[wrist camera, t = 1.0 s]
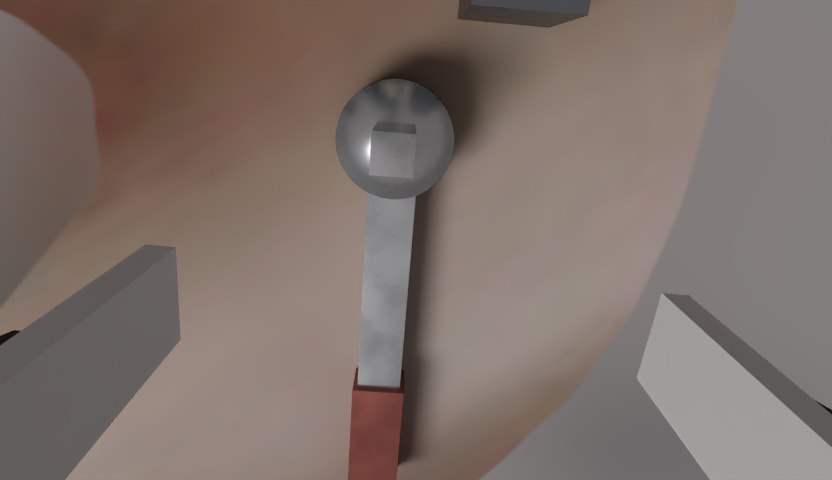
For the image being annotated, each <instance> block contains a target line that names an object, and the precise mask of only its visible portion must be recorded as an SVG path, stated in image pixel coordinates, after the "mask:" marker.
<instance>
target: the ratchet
mask: <svg viewBox="0 0 832 480" xmlns="http://www.w3.org/2000/svg"><path fill="white" fill-rule="evenodd" d="M336 148H337V154H338V157H339V160H340V162H341V165H342V167H343V169H344V170H345V172H346V173H347V175H348V176H349V177H350V179H351V180H352V181H353V182H354V183H355V184H356V185H358V186H359V187H360V188H362V189H363V190H365V191H366V192H368V194H367V213H366V232H365V251H364V270H363V289H362V308H361V327H360V346H359V365H358V368H356V373H355V379H354V385H353V390H352V410H351V430H350V450H349V471H348V480H396V476H397V465H398V453H399V442H400V430H401V419H402V407H403V396H404V371H401V367H402V355H403V343H404V331H405V319H406V307H407V295H408V283H409V271H410V259H411V247H412V235H413V224H414V212H415V200H416V195H419V194H421V193H423V192H425V191H427V190H428V189H430V188H431V187H432V186H434V185H435V184H436V183H437V182H438V181H439V180H440V178H441V177H442V176H443V175H444V173H445V171H446V170H447V168H448V166H449V164H450V162H451V158H452V155H453V150H454V129H453V125H452V121H451V119H450V116H449V114H448V112H447V110H446V108H445V107H444V105H443V104H442V102H441V101H440V100H439V99H438V98H437V97H436V96H435V95H434V94H433V93H432V92H431V91H429V90H428V89H427V88H425V87H424V86H422V85H420V84H418V83H416V82H413V81H410V80H405V79H386V80H382V81H378V82H375V83H373V84H370V85H368V86H366V87H365V88H363V89H361V90H360V91H359V92H358V93H356V94H355V95H354V96H353V97H352V98H351V99H350V100H349V102H348V103H347V104H346V106H345V107H344V109H343V111H342V113H341V115H340V118H339V120H338V124H337V128H336Z"/></svg>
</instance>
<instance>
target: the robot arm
mask: <svg viewBox="0 0 832 480" xmlns="http://www.w3.org/2000/svg"><path fill="white" fill-rule="evenodd" d="M179 340H180V322H179V303H178V284H177V265H176V247H167V246H156V245H144V246H143V247H141V248H140V249H139V250H137V251H136V252H134V253H133V254H131V255H130V256H129V257H127V258H126V259H124V260H123V261H121V262H120V263H118V264H117V265H116V266H114V267H113V268H111V269H110V270H108V271H107V272H105V273H104V274H103V275H101V276H100V277H98V278H97V279H95V280H94V281H92V282H91V283H90V284H88V285H87V286H85V287H84V288H82V289H81V290H79V291H78V292H77V293H75V294H74V295H72V296H71V297H69V298H68V299H66V300H65V301H64V302H62V303H61V304H59V305H58V306H56V307H55V308H54V309H52V310H51V311H49V312H48V313H46V314H45V315H43V316H42V317H41V318H39V319H38V320H36V321H35V322H33V323H32V324H30V325H29V326H28V327H26V328H25V329H23V330H22V331H16V330H13V331H11V332H9V333H6V334H4V335H1V336H0V480H65V479H66V478H67V477H68V475H69V474H70V473H71V472H72V470H73V469H74V468H75V467H76V466H77V464H78V463H79V462H80V461H81V460H82V458H83V457H84V456H85V455H86V453H87V452H88V451H89V450H90V449H91V447H92V446H93V445H94V444H95V443H96V441H97V440H98V439H99V438H100V436H101V435H102V434H103V433H104V432H105V430H106V429H107V428H108V427H109V426H110V424H111V423H112V422H113V421H114V419H115V418H116V417H117V416H118V415H119V413H120V412H121V411H122V410H123V409H124V407H125V406H126V405H127V404H128V402H129V401H130V400H131V399H132V398H133V396H134V395H135V394H136V393H137V391H138V390H139V389H140V388H141V387H142V385H143V384H144V383H145V382H146V381H147V379H148V378H149V377H150V376H151V374H152V373H153V372H154V371H155V370H156V368H157V367H158V366H159V365H160V364H161V362H162V361H163V360H164V359H165V357H166V356H167V355H168V354H169V353H170V351H171V350H172V349H173V348H174V347H175V345H176V344H177V343H178V342H179ZM637 379H638V381H639V382H640V384H641V385H642V386H643V388H644V389H645V390H646V392H647V393H648V394H649V396H650V397H651V398H652V400H653V401H654V403H655V404H656V406H657V407H658V408H659V410H660V411H661V413H662V414H663V415H664V417H665V418H666V419H667V421H668V422H669V423H670V425H671V426H672V428H673V429H674V430H675V432H676V433H677V435H678V436H679V437H680V439H681V440H682V442H683V443H684V444H685V446H686V447H687V449H688V450H689V451H690V453H691V454H692V455H693V457H694V458H695V460H696V461H697V462H698V464H699V465H700V466H701V468H702V469H703V471H704V472H705V473H706V475H707V476H708V478H709V479H710V480H832V410H831V409H829V408H827V407H826V406H824V405H822V404H820V403H819V402H817V401H815V400H814V399H813V398H811V397H810V396H809V395H808V394H807V393H805V392H804V391H803V390H802V389H800V388H799V387H798V386H797V385H796V384H795V383H793V382H792V381H791V380H790V379H789V378H787V377H786V376H785V375H784V374H782V373H781V372H780V371H779V370H778V369H777V368H775V367H774V366H773V365H772V364H770V363H769V362H768V361H767V360H766V359H764V358H763V357H762V356H761V355H760V354H758V353H757V352H756V351H755V350H754V349H752V348H751V347H750V346H749V345H748V344H746V343H745V342H744V341H743V340H741V339H740V338H739V337H738V336H737V335H736V334H734V333H733V332H732V331H730V329H728V328H727V327H726V326H725V325H723V324H722V323H721V322H720V321H719V320H717V319H716V318H715V317H714V316H713V315H712V314H710V313H709V312H708V311H707V310H706V309H704V308H703V307H702V306H701V305H699V304H698V303H697V302H696V301H695V300H693V299H692V298H691V297H690V296H687V295H676V294H665V293H662V295H661V298H660V301H659V305H658V308H657V312H656V315H655V318H654V322H653V325H652V328H651V332H650V335H649V339H648V342H647V345H646V349H645V353H644V356H643V359H642V363H641V366H640V369H639V373H638V376H637Z"/></svg>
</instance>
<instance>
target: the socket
mask: <svg viewBox="0 0 832 480" xmlns="http://www.w3.org/2000/svg"><path fill="white" fill-rule="evenodd" d="M589 6H590V0H459V10H458V19H462V20H473V21H484V22H495V23H506V24H517V25H528V26H539V27H552V26H555V25H559V24H562V23H565V22H568V21H571V20H575V19H578V18H581V17H584V16H587V15H588V12H589Z"/></svg>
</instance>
